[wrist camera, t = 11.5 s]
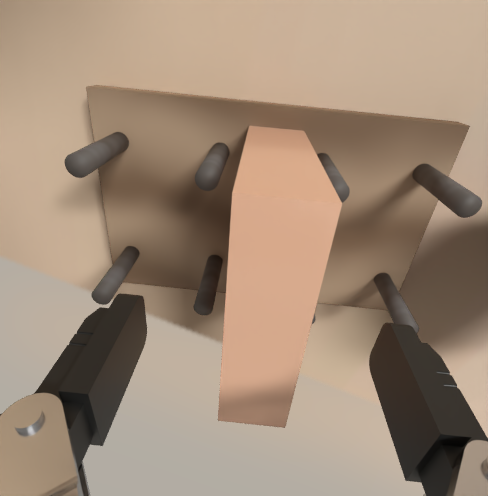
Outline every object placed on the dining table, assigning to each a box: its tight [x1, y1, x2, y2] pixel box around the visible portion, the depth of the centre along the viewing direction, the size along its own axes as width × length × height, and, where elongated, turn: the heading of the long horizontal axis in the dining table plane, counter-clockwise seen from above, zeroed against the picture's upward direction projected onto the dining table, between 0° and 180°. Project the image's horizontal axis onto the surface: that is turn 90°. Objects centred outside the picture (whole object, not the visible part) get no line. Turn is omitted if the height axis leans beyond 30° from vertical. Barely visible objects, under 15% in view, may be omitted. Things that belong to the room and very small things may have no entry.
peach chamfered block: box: [218, 126, 342, 428], centre depth 15 cm, size 10×3×10 cm, turn 176°
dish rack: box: [65, 85, 482, 333], centre depth 17 cm, size 12×19×6 cm, turn 85°
